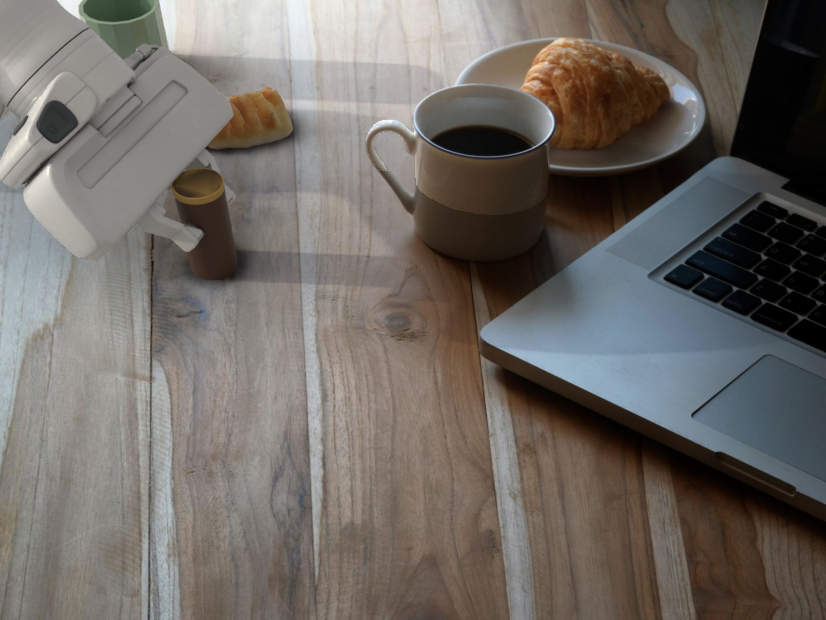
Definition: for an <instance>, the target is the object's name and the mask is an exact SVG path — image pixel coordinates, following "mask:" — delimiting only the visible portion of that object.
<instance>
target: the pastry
mask: <svg viewBox="0 0 826 620" xmlns="http://www.w3.org/2000/svg"><path fill="white" fill-rule="evenodd" d="M228 100H229V102H230V104H231V107H232V110H233V114H234V115H233V117H232V119H231V120H230V121H229V122H228V123H227V124H226V125H225V126H224V127H223V129H222V130H221V131H220V132H219V133H218V134H217V135H216V136H215V137H214V138H213V139H212V141H211V142H210V143H209V144H208V145H207V146H206V147H208V148H209V149H213V150H224V149H250V148H252V147H254V146H260V145H265V144H270V143H274V142H276V141H280V140H283V139H285V138H288V137H289V136H290V135H291V133H292V132H293V130H294V127H293V123H292V119H291V117H290V114H289V112H288V110H287V108H286V106H285V102H284V100H283V98H282V97H281V95H280V93H279V92H278V91H277V89H273V88H271V87H267V86H266V87H265V88H263V89H262V90H261V91H253V92H245V93H243V94H235V95H232V96H231V97H230V98H229V99H228Z"/></svg>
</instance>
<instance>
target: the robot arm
mask: <svg viewBox="0 0 826 620" xmlns="http://www.w3.org/2000/svg"><path fill="white" fill-rule="evenodd" d="M152 50H156V51H155V52H154V53H153V54H152ZM151 54H152V55H151ZM150 55H151V56H150ZM141 62H143V63H142V64H141V65H140V66H138V65H139V64H140V63H141ZM137 66H138V67H137ZM229 100H230V99H228V98H227V97H226V96H225V95H224V94H223V93H222V92H221V90H220V89H218V88H217V87H216V86H215V85H213V84H212V83H211V82H210V81H209V80H208V79H207V78H205V77H204V76H203V75H202V74H201V73H199V72H198V71H197V70H195V68H194V67H192V66H191V65H190V64H188V63H186V62H185V61H184V60H182V59H180V58H179V57H177V56H176V54H174V52H173V51H171V50H170V48H169V49H168V48H166V47H164V46H158V45H148V44H142V45H140V46H139V47H137V48H136V49H135V51H134V52H133V54H131V55H130V56H129V57H127V58H125V59H124V60H123V59H122V58H121V57H120V56H119V55H118V54H117V53H116V52H115V51H114V50H113V49H112V48H111V47H110V46H109V45H108V44H107V43H106V42H105V41H104V40H103V39H102V38H101V37H100V36H99V35H98V34H97V33H96V32H95V31H94V30H93V29H92V28H91V27H90V26H89V25H87V24H86V23H85V22H83V21H82V20H81V19H80V17H79V18H78V17H77V16H75V15H74V14H72V13H71V12H69V10H67V9H66V8H64V6H63V5H62V4H61V3H60V2H59V1H58V0H0V122H2V121H4V120H5V119H6V118H8V117H9V116H10V115H12V114H13V115H15V117H16V118H17V119H18V122H17V124H15V128H14V130H13V132H12V135H11V136H10V138H9V141H8V142H7V144H6V147H5V148H4V151H3V153H2V154H1V157H0V182H2V183H3V184H4V185H6V186H7V187H8V188H10V189H13V190H18V189H21V188H22V187H23V193H22V194H23V195H22V196H23V200H24V204H25V206H26V207H27V209H28V210H29V212H30V213H31V214H32V215H33V217H34V218H35V219H36V220H37V221H38V222H39V223H40V224H41V225H42V227H44V229H45V230H47V232H49V234H51V235H52V237H54V238H55V239H56V240H57V241H58V242H59V243H60V244H61V245H62V246H63V247H64V248H66V250H68V251H69V252H70V253H72V254H73V255H74V256H76V257H77V258H79V259H82V260H86V261H93V262H97V261H99V260H100V259H102V258H103V257H104V256H106V255H107V254H108V253H109V252H110V251H112V249H114V248H115V247H116V246H117V245H118V243H120V241H122V240H123V238H124V237H125V236H126V235H127V234H128V233H129V232H130V230H131V229H133V227H134V226H135V225H137V226H138V227H140V228H141V229H142V230H143V231H144V232H145V233H148V234H151V235H155V236H157V237H162V238H165V239H168V240H169V239H170V240H171V241H172V242H173V243H175V244H176V245H177V246H178V247H179V248H180V249H181V250H182V251H184V252H186V253H187V252H189V251H191V250H192V249H193V248H195V247H196V246H197V245H198V243H199V242H200V241H201V239H202V238H203V237H204V232H203V231H202V230H201V229H199V228H197V226H196V224H195V223H193V222H192V221H191V220H189V221H187V222H186V223H185V224H182V223H181V222H180V221H178V220H175V219H172V218H169V217H167V216H165V214H166V213H167V209H166V208H164V207H163V206H162V204H160V202H158V200H159V199H160V198H161V197H162V195H164V193H165V192H166V191H167V190H168V189H169V188H170V187H171V186H172V183H173V182H174V181H175V180H176V179H177V178H178V177H179V176H180V174H181V173H182V172H184V171H186V170H189V169H194V168H208V169H212V170H215V171H217V172H219V173H220V174H221V171H220V168H219V166H218V163H217V161H216V157H214V156H213V154H211V153H210V152H209V151H208V149H206V147H207V145H208V144H209V143H210V142H211V141H212V139H213V138H214V137H215V136H216V135H217V134H218V133H219V132H220V131H221V130H222V129H223V127H224V126H225V125H226V124H227V123H228V122H229V121H230V120H231V119H232V117H233V115H234V114H233V110H232V107H231V104H230V102H229ZM221 175H222V174H221ZM224 184H225V193H226V199H227V204H228V208H229V207H230V205H231V204H232V203H233V202H234V201H235V199H236V197H237V196H236V193H235V192H234V190H232V189H231V188H230V187H229V186H228V185H227V184H226V183H225V182H224Z"/></svg>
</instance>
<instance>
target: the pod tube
mask: <svg viewBox="0 0 826 620" xmlns="http://www.w3.org/2000/svg"><path fill="white" fill-rule="evenodd" d="M220 173H221V172H220ZM220 173H219V172H217V171H215V170H212V169H208V168H194V169H189V170H184V171H183V172H182V173H181V174H180V176H179V177H178V178H177V179H176V180H175V181H174V182H173V183H172V184H171V190H172V195H173V196H174V201H175V205H176V210H177V213H178V217H179V222H180V223H182V224H185V223H186V222H187V221H189V220H191V221H192V222H193V223H195V224H196V226H197V228H199V229H201V230H202V231H203V232H204V237H203V238H202V239H201V241H200V242H199V243H198V245H197V246H196V247H195V248H193V249H192V250H191V251H189V252H186V253H187V255H188V261H189V265H190V269H191V272H192V273H193V275H194V276H195V277H197V278H198V279H202V280H207V281H216V280H221V279H225V278H227V277H229V276H231V275H232V274H233V273H234V272H236V270H237V268H238V265H239V261H238V255H237V248H236V244H235V243H236V242H235V238H234V232H233V227H232V220H231V216H230V211H229V207H228V204H227V199H226V193H225V184H226V183H225V181H224V180H225V179H224V177H223V175H222V174H220ZM224 183H225V184H224Z"/></svg>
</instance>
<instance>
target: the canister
mask: <svg viewBox="0 0 826 620" xmlns="http://www.w3.org/2000/svg"><path fill="white" fill-rule="evenodd" d="M77 8H78V15H79V19H80V20H82V21H83V22H85V23H86V24H87V25H89V26H90V27H91V28H92V29H93V30H94V31H95V32H96V33H97V34H98V35H99V36H100V37H101V38H102V39H103V40H104V41H105V42H106V43H107V44H108V45H109V46H110V47H111V48H112V49H113V50H114V51H115V52H116V53H117V54H118V55H119V56H120V57H121V58H122V59H123V60H124V59H125V58H127V57H129V56H130V55H131V54H133V52H134V51H135V49H136V48H137V47H139V46H140V45H142V44H148V45H158V46H164V47H166V48H168V49H169V50H170V46H169V42H168V38H167V37H168V36H167V33H166V28H165V27H166V26H165V22H164V18H163V13H162V8H161V4H160V0H81V1H80V3H79V4H78V7H77ZM155 51H156V50H152V54H153V53H154V52H155ZM152 54H151V55H152ZM151 55H150V56H151ZM142 63H143V62H141V63H140V64H139V65H138V66H140V65H141V64H142ZM138 66H137V67H138Z"/></svg>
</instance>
